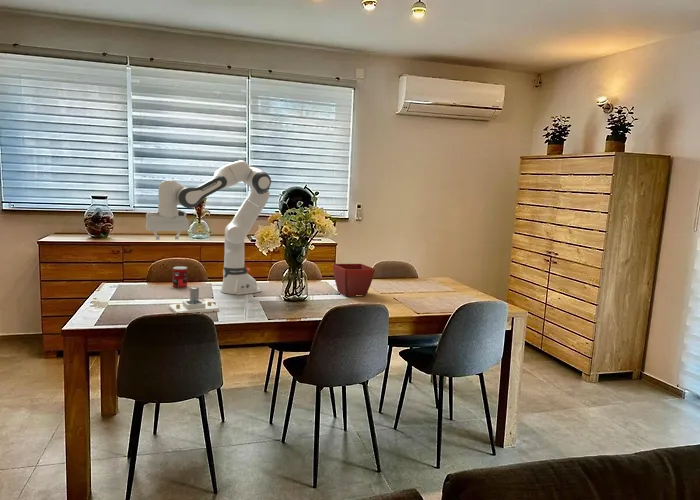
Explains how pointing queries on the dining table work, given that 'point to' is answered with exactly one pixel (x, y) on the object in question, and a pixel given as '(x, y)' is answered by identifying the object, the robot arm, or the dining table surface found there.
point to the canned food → (180, 276)
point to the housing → (194, 307)
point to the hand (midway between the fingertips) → (167, 239)
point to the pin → (194, 295)
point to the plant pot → (353, 278)
